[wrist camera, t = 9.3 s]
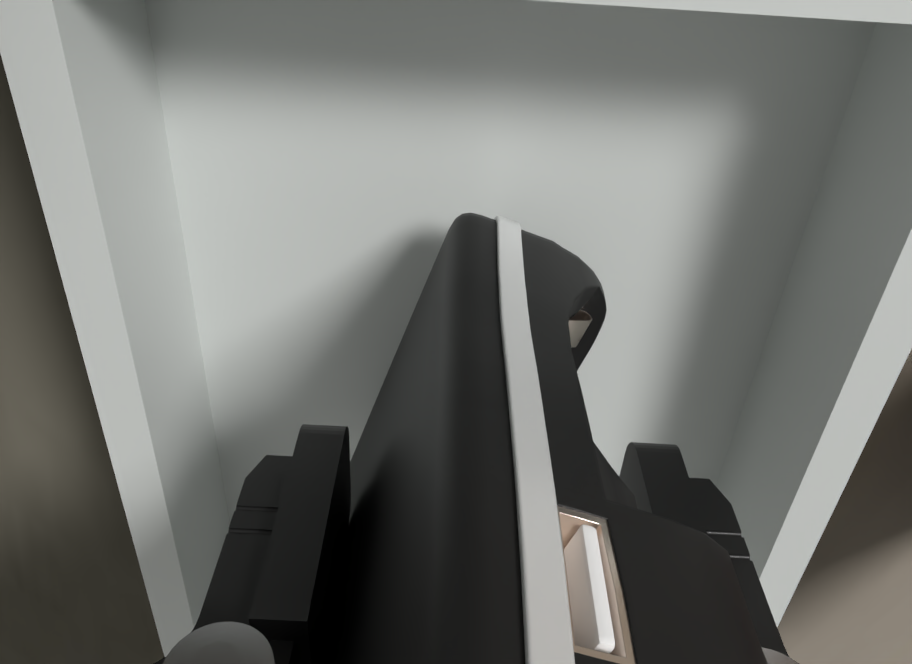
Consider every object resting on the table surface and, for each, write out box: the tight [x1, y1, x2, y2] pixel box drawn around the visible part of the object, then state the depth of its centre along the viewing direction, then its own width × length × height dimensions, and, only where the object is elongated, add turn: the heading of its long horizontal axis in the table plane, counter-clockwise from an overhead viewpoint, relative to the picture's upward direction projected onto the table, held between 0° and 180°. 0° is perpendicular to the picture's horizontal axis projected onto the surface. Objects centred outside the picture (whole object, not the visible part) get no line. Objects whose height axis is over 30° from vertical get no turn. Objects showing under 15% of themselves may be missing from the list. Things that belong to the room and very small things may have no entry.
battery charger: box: [325, 213, 768, 664], centre depth 10 cm, size 7×4×11 cm, turn 159°
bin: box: [0, 0, 912, 657], centre depth 15 cm, size 16×13×4 cm
